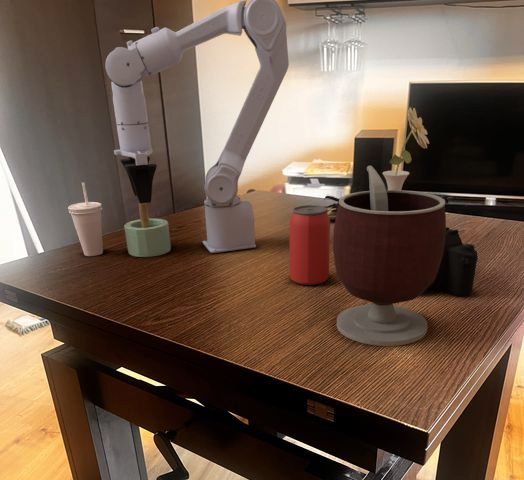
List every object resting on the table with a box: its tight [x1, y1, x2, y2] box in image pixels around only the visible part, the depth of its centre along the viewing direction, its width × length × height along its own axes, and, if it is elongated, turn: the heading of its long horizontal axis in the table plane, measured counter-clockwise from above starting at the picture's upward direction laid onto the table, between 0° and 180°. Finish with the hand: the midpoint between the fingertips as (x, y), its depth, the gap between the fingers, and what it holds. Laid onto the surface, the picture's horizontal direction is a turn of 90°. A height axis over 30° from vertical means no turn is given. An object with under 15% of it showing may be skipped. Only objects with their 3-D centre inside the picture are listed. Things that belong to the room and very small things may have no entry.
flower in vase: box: [382, 106, 430, 190], centre depth 102 cm, size 13×11×25 cm
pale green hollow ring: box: [123, 218, 172, 258], centre depth 107 cm, size 9×9×6 cm
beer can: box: [289, 204, 331, 286], centre depth 88 cm, size 7×7×12 cm
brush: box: [138, 202, 150, 228], centre depth 106 cm, size 3×3×9 cm
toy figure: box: [322, 193, 341, 223], centre depth 124 cm, size 7×6×15 cm
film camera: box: [427, 226, 479, 297], centre depth 84 cm, size 15×10×9 cm, turn 24°
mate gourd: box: [332, 165, 447, 347], centre depth 70 cm, size 16×14×20 cm
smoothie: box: [67, 181, 104, 257], centre depth 105 cm, size 6×6×14 cm
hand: (142, 198), depth 104 cm, fingers open, 7 cm apart
